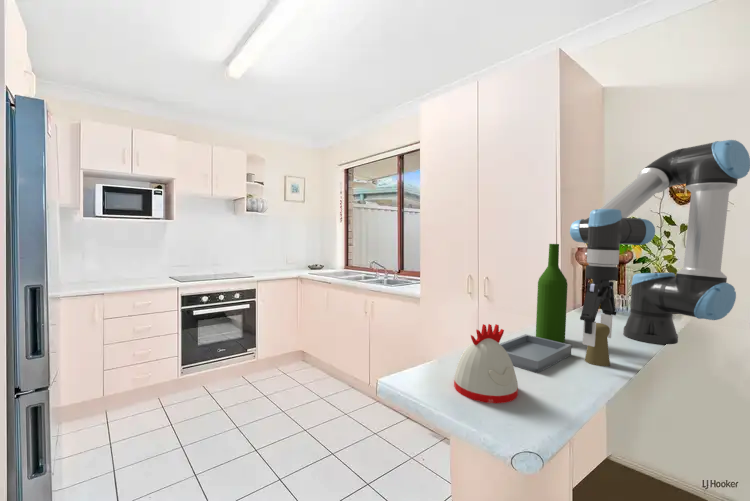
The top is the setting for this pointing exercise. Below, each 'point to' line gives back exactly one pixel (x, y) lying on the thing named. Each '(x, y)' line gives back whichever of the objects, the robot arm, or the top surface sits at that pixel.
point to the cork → (599, 347)
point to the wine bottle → (552, 300)
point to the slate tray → (535, 352)
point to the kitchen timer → (486, 369)
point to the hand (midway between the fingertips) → (597, 340)
